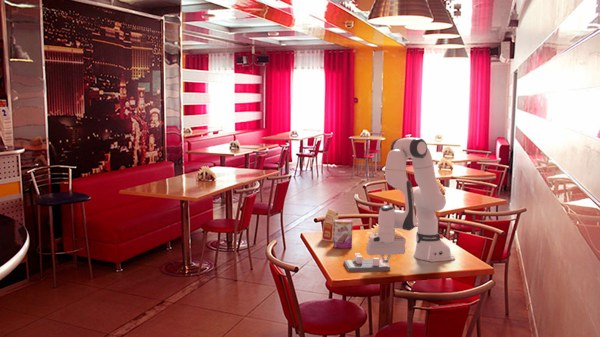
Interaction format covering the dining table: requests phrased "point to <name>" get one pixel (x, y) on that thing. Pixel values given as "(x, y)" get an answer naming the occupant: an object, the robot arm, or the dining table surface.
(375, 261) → the handle
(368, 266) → the breaker panel
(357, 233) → the dining table surface
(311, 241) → the dining table surface
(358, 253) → the handle back
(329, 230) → the milk carton
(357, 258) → the handle middle
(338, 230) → the candy bar box
